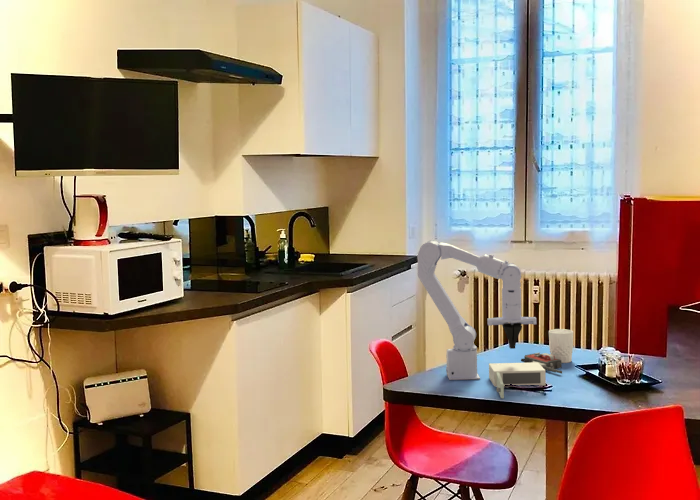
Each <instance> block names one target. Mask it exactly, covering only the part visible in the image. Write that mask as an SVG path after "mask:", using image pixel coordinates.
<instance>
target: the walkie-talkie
mask: <svg viewBox="0 0 700 500" xmlns="http://www.w3.org/2000/svg"><path fill="white" fill-rule="evenodd" d="M520 361H521V363H533V362H538V363H539V364H540V365H541V366H542V367H543V368H544V369H545V371H548V372H552V373H558V374H563V371H562V370H559V369H561V368H562V364H563V363H561V360H559V359H555V357H554V355H551V353H546V352H544V353H541V352H535V353H529V354H525V355H524V358H521V359H520Z"/></svg>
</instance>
